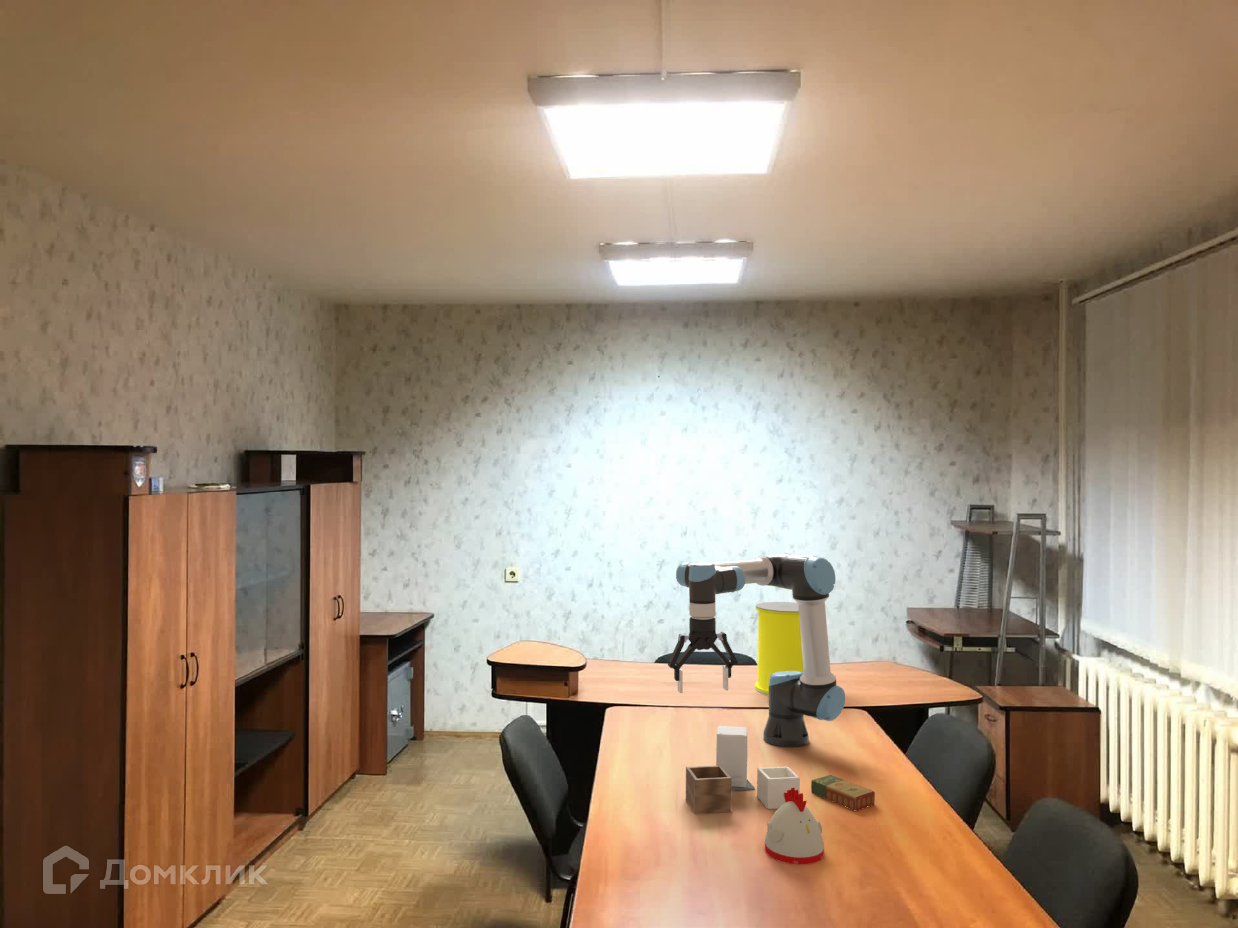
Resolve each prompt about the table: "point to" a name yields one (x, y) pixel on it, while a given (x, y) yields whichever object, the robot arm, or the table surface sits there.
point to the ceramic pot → (775, 785)
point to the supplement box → (733, 753)
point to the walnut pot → (708, 789)
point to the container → (778, 641)
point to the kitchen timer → (794, 832)
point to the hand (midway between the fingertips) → (702, 690)
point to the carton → (843, 792)
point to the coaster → (748, 787)
